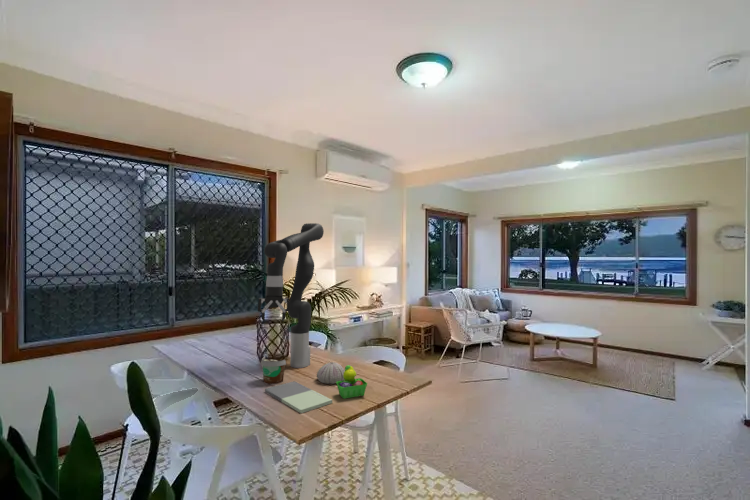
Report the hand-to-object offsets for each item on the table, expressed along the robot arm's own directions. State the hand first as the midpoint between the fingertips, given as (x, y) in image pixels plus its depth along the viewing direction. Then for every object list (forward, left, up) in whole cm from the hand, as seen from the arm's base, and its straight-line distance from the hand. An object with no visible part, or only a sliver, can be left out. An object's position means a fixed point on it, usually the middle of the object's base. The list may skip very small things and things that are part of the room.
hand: (273, 320), depth 168 cm
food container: (+3, +4, -27) cm, 27 cm away
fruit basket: (-15, +39, -27) cm, 50 cm away
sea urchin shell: (-19, +20, -27) cm, 38 cm away
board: (+3, +27, -27) cm, 38 cm away
